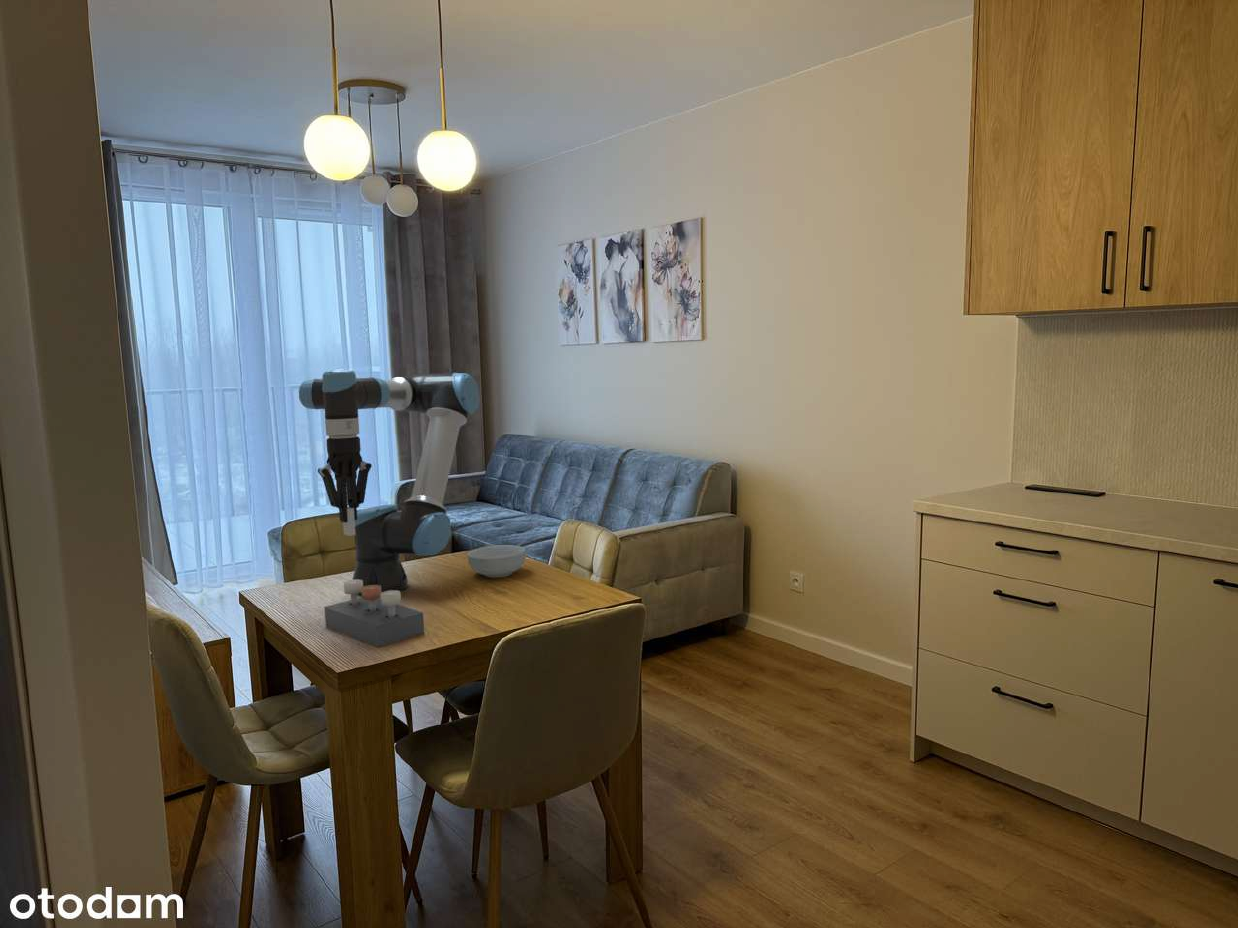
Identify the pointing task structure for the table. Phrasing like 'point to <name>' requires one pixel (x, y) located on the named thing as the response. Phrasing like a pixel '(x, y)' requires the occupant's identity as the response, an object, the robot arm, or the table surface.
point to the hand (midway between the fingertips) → (349, 534)
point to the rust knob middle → (371, 595)
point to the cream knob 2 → (391, 601)
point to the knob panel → (374, 622)
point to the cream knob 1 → (353, 589)
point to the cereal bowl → (497, 560)
